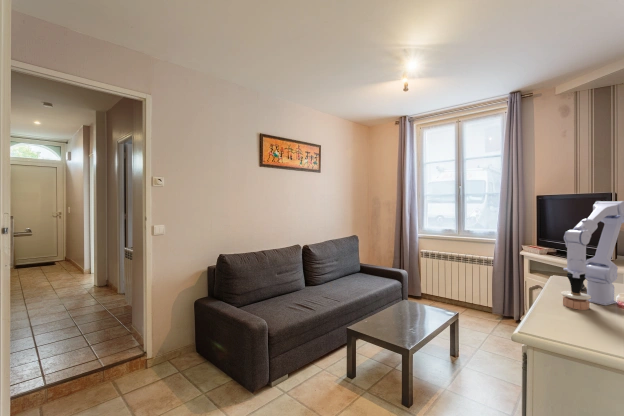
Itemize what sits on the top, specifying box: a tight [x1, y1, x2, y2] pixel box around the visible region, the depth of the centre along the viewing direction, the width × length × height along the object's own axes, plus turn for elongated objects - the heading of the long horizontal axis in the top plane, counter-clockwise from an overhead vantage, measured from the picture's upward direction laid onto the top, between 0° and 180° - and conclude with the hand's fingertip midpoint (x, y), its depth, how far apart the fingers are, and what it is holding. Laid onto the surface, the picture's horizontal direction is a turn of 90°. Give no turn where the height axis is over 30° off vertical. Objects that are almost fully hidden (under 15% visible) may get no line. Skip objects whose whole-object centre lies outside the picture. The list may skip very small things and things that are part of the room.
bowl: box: [562, 295, 590, 311], centre depth 120 cm, size 8×8×3 cm
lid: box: [560, 288, 591, 300], centre depth 120 cm, size 9×9×4 cm
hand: (575, 291), depth 120 cm, fingers closed on lid, 3 cm apart
